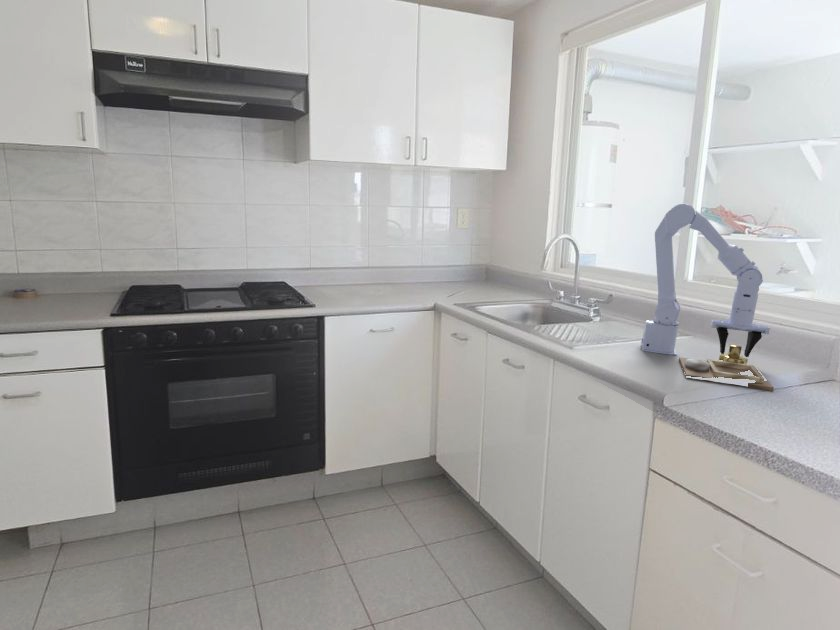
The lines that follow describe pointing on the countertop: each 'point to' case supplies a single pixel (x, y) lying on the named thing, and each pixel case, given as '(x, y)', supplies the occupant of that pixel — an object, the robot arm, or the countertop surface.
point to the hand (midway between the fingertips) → (734, 354)
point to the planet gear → (733, 355)
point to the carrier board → (723, 371)
